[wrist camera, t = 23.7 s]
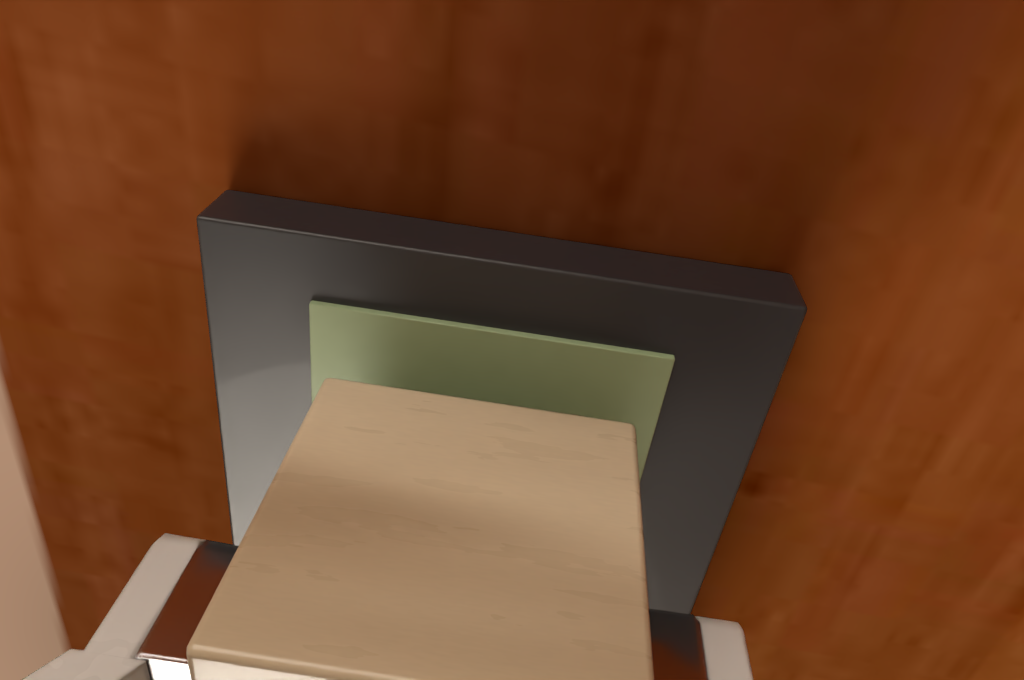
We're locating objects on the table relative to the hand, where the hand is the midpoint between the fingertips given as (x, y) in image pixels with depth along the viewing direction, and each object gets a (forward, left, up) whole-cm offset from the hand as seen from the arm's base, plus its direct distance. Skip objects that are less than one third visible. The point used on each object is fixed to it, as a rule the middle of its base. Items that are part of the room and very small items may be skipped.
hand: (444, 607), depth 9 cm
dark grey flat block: (-3, 0, -4) cm, 5 cm away
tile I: (0, 0, -2) cm, 2 cm away
